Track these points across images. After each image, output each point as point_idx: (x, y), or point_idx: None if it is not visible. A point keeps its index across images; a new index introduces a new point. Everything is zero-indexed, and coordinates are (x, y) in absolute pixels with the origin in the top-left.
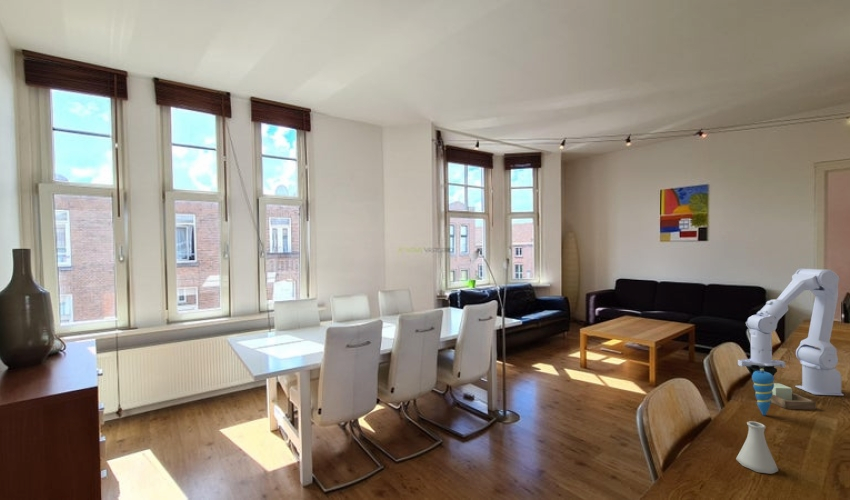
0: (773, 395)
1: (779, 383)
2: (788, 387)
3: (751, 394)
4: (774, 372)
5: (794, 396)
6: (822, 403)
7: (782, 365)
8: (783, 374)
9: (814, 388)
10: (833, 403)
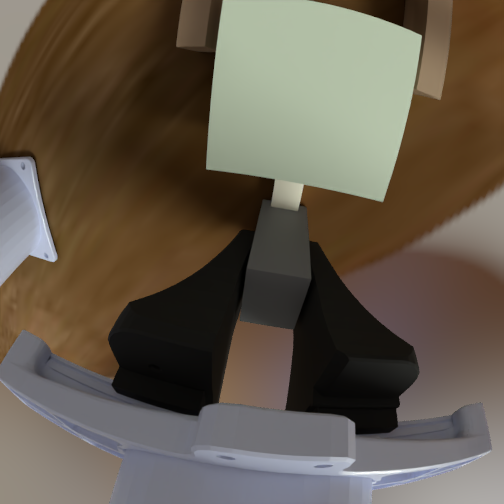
0: (441, 33)
1: (215, 157)
2: (237, 19)
3: (413, 194)
4: (166, 301)
5: (214, 19)
6: (77, 30)
7: (30, 355)
8: (56, 342)
9: (10, 190)
10: (35, 49)
